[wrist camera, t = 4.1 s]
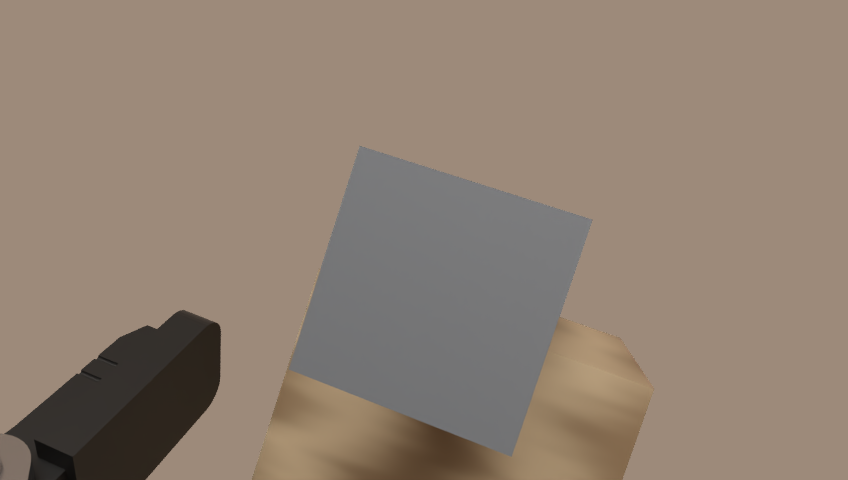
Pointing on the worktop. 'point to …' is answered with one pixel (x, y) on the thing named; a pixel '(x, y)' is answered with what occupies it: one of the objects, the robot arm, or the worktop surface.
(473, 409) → the block
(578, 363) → the stand
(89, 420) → the robot arm
